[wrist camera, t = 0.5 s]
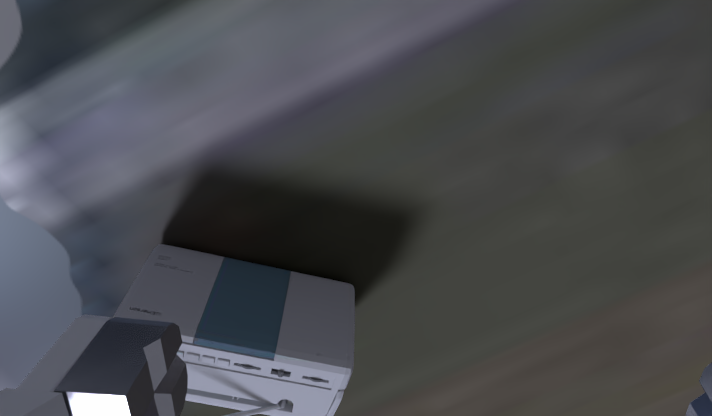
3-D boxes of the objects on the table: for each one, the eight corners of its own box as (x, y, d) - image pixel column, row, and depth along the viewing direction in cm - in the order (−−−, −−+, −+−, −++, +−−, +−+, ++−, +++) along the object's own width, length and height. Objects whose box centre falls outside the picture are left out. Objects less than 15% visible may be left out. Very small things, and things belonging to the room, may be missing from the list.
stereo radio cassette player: (357, 274, 58) (355, 436, 41) (339, 331, 62) (330, 500, 45) (158, 232, 56) (66, 385, 39) (153, 293, 60) (68, 457, 43)
